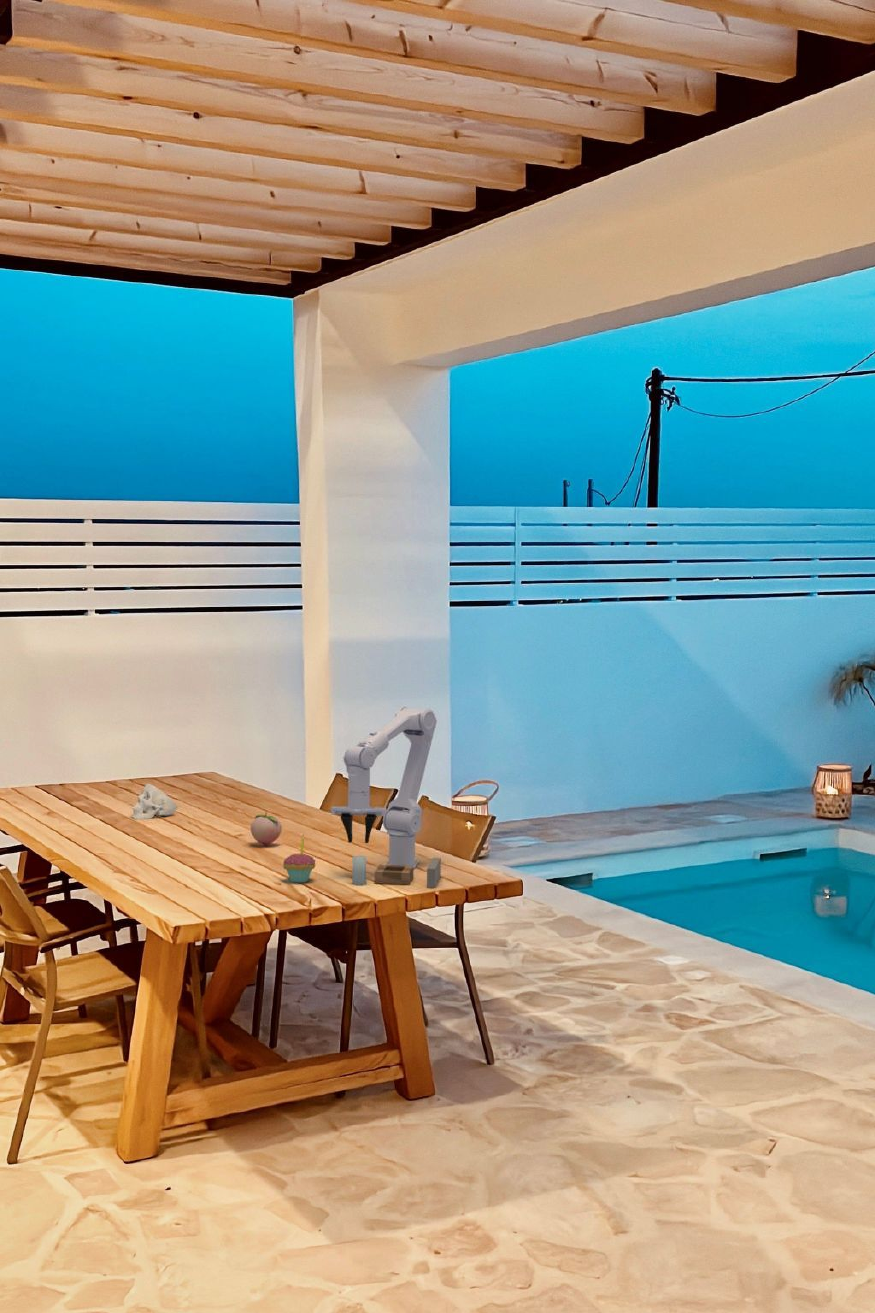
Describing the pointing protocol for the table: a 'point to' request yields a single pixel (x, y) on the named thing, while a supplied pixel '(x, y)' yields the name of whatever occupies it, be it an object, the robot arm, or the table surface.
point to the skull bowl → (153, 803)
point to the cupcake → (299, 866)
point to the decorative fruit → (265, 829)
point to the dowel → (359, 870)
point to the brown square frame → (394, 874)
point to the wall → (433, 872)
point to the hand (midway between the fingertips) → (358, 842)
